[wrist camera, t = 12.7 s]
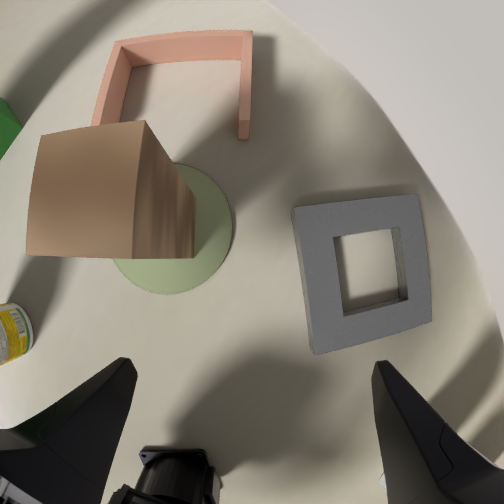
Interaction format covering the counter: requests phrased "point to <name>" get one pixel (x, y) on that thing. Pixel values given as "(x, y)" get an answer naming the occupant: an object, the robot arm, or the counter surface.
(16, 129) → the hardback book
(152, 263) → the olive mat
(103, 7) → the counter surface
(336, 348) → the hole plate
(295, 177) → the counter surface
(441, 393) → the counter surface
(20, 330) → the supplement bottle
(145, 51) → the terracotta cubby
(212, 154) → the counter surface
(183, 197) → the walnut block
